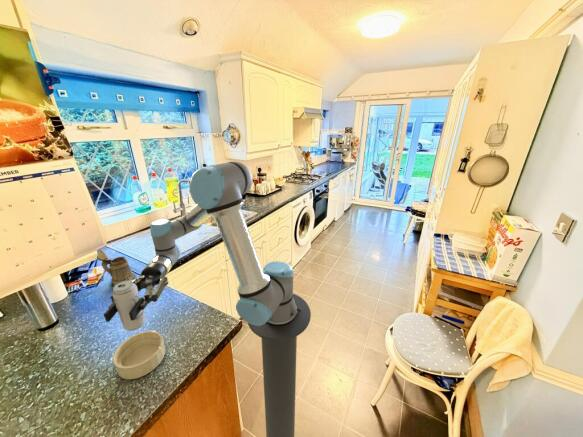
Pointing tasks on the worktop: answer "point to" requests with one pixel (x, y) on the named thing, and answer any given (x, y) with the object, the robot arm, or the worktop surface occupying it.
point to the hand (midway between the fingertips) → (118, 317)
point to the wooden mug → (116, 268)
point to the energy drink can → (128, 304)
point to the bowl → (139, 354)
